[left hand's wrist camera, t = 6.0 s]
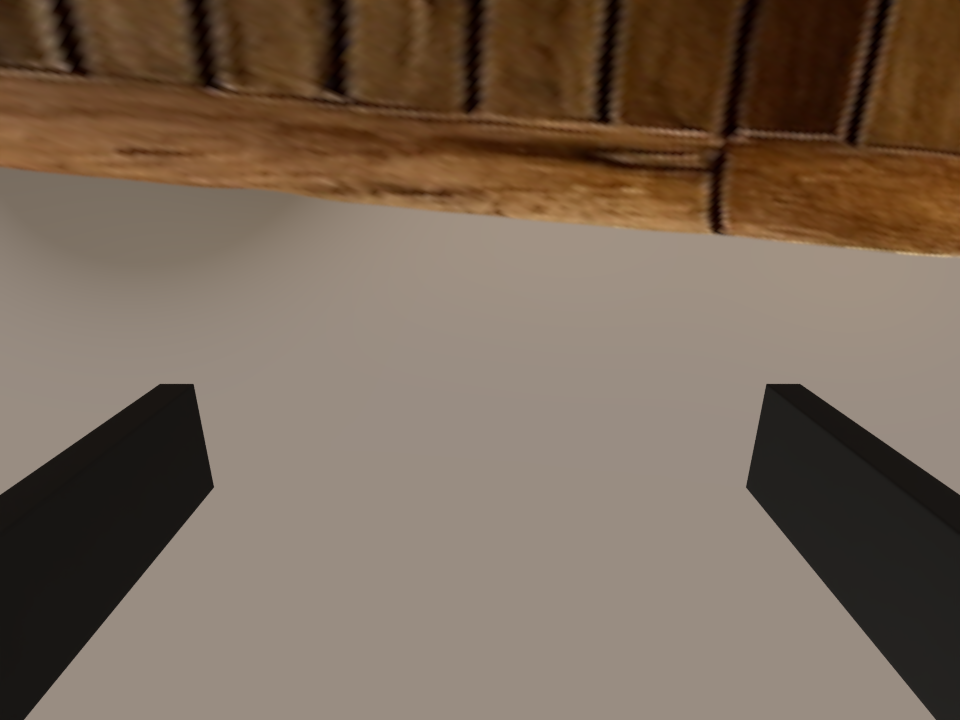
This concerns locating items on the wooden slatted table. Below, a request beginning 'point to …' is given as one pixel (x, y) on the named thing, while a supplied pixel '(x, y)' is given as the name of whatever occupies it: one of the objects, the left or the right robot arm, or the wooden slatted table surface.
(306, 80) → the wooden slatted table surface
